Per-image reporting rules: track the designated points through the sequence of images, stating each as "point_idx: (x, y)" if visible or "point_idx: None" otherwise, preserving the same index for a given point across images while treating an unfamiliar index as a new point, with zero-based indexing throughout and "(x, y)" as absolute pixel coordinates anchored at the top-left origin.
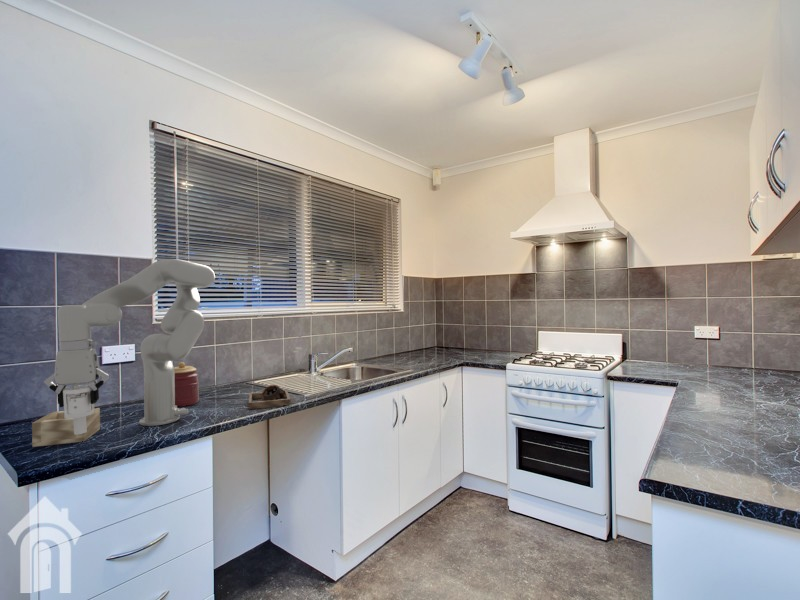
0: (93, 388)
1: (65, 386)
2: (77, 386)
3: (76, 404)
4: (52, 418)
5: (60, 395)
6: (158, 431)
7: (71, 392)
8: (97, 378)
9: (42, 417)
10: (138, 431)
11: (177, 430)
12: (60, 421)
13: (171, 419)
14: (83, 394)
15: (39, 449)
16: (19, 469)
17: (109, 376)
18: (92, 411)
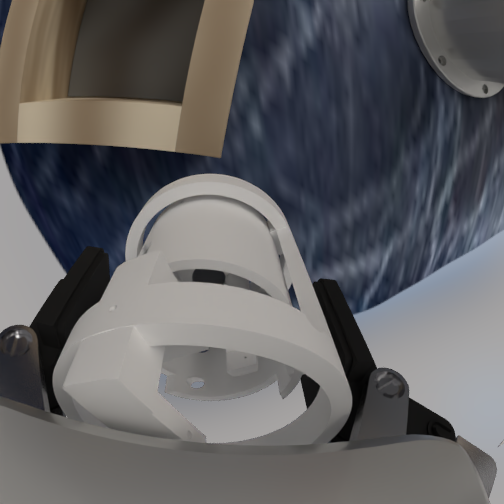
0: (341, 434)
1: (46, 403)
2: (153, 359)
3: (208, 362)
4: (44, 11)
5: None
6: (452, 169)
7: None
8: (436, 447)
9: (3, 37)
10: (406, 118)
11: (484, 197)
12: (98, 144)
13: (496, 89)
14: (247, 367)
15: (82, 170)
16: None
17: (488, 463)
18: (287, 281)
